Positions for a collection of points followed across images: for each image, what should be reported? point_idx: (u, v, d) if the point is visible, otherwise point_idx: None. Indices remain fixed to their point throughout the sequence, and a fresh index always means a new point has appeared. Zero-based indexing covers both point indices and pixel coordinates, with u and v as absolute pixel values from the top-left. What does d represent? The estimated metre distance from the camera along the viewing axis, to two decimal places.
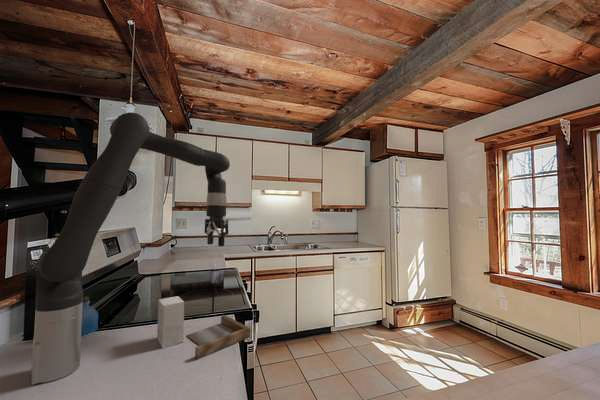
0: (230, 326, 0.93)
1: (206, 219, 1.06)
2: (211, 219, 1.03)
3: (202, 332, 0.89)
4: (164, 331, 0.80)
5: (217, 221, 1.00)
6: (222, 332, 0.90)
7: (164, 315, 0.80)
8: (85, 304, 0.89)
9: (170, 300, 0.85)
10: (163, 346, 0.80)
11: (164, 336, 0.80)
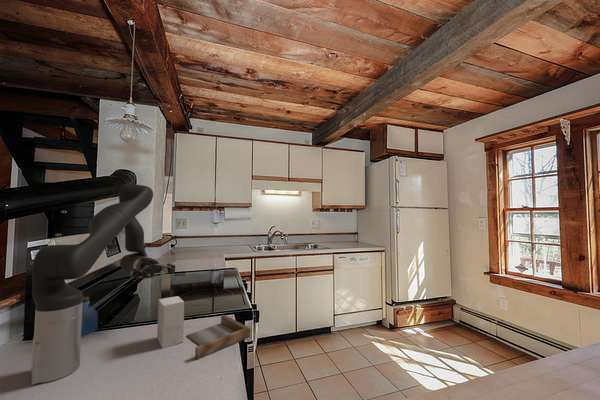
0: (230, 326, 0.93)
1: (134, 268, 0.96)
2: None
3: (202, 332, 0.89)
4: (164, 331, 0.80)
5: (159, 265, 1.02)
6: (222, 332, 0.90)
7: (164, 315, 0.80)
8: (84, 304, 0.89)
9: (170, 300, 0.85)
10: (163, 346, 0.80)
11: (164, 336, 0.80)
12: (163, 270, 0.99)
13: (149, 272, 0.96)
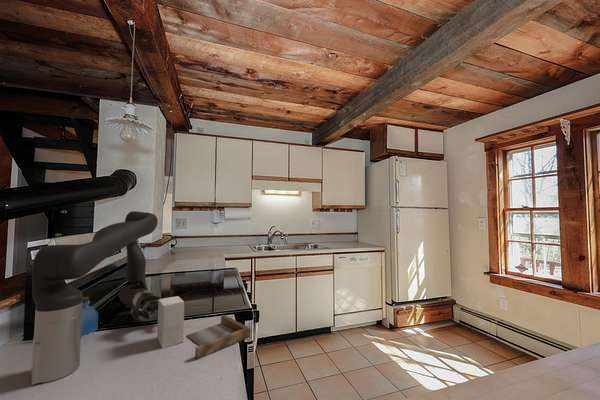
0: (230, 326, 0.93)
1: (134, 306, 0.93)
2: None
3: (202, 332, 0.89)
4: (164, 331, 0.80)
5: None
6: (222, 332, 0.90)
7: (164, 315, 0.80)
8: (84, 304, 0.89)
9: (170, 300, 0.85)
10: (163, 346, 0.80)
11: (164, 336, 0.80)
12: None
13: (150, 310, 0.93)
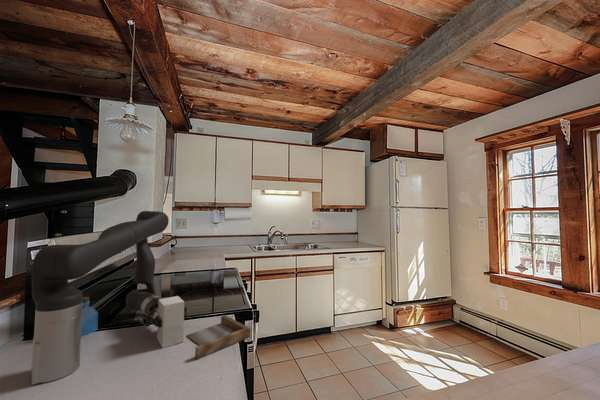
0: (230, 326, 0.93)
1: (143, 313, 0.86)
2: (156, 310, 0.90)
3: (202, 332, 0.89)
4: (164, 331, 0.80)
5: None
6: (222, 332, 0.90)
7: (164, 315, 0.80)
8: (84, 304, 0.89)
9: (170, 300, 0.85)
10: (163, 346, 0.80)
11: (164, 336, 0.80)
12: None
13: None
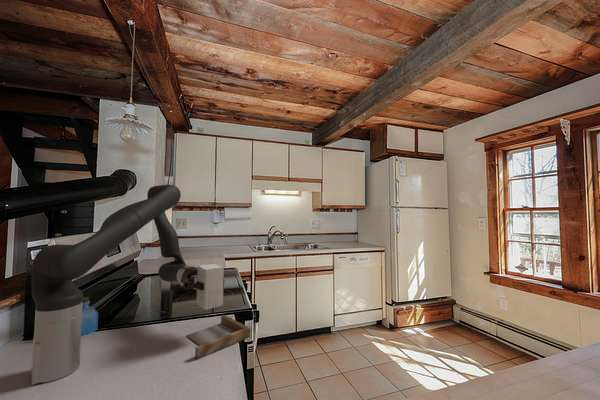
0: (230, 326, 0.93)
1: (182, 279, 0.89)
2: (193, 277, 0.93)
3: (202, 332, 0.89)
4: (206, 294, 0.84)
5: None
6: (222, 332, 0.90)
7: (206, 278, 0.84)
8: (84, 304, 0.89)
9: (209, 266, 0.88)
10: (205, 308, 0.83)
11: (206, 298, 0.84)
12: None
13: None
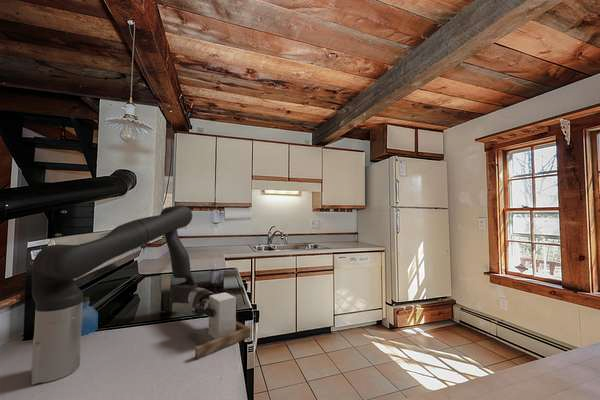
0: None
1: (194, 304, 0.89)
2: (205, 301, 0.92)
3: (202, 332, 0.89)
4: (219, 325, 0.83)
5: None
6: None
7: (219, 310, 0.84)
8: (84, 304, 0.89)
9: (221, 296, 0.88)
10: None
11: (220, 330, 0.83)
12: None
13: None
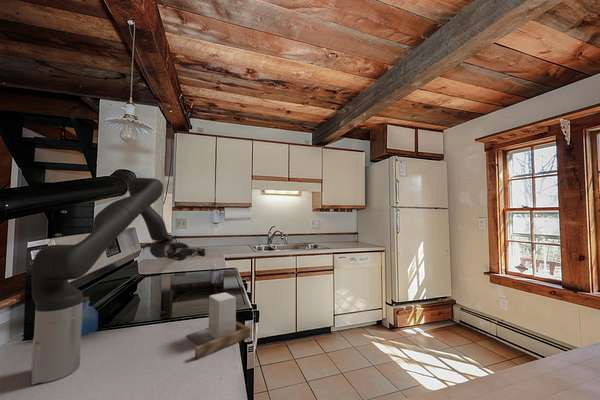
0: None
1: (167, 250, 1.02)
2: (178, 249, 1.05)
3: (202, 332, 0.89)
4: (219, 325, 0.83)
5: None
6: None
7: (219, 310, 0.84)
8: (84, 304, 0.89)
9: (221, 296, 0.88)
10: None
11: (220, 330, 0.83)
12: (194, 253, 1.06)
13: None
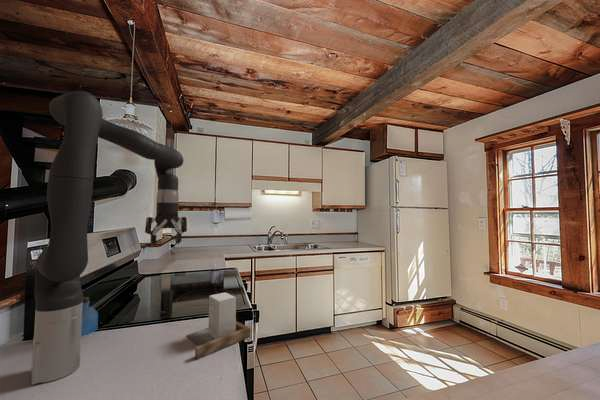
0: None
1: (151, 217, 0.94)
2: (163, 217, 0.97)
3: (202, 332, 0.89)
4: (219, 325, 0.83)
5: (176, 219, 1.00)
6: None
7: (219, 310, 0.84)
8: (84, 304, 0.89)
9: (221, 296, 0.88)
10: None
11: (220, 330, 0.83)
12: (174, 228, 1.01)
13: None
